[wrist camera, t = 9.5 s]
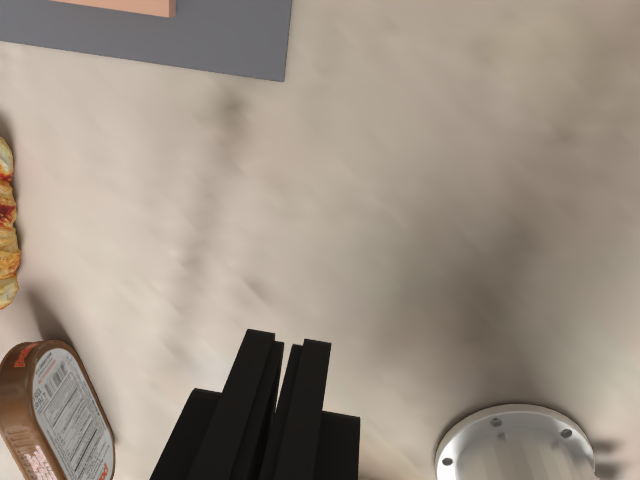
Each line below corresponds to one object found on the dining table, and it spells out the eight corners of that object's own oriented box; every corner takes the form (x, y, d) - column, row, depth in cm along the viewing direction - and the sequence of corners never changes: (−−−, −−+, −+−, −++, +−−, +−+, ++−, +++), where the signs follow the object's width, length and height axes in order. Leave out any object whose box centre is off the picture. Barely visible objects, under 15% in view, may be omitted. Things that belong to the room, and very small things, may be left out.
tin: (33, 321, 46) (-34, 391, 38) (69, 316, 45) (9, 386, 37) (99, 461, 52) (53, 546, 44) (132, 458, 51) (91, 544, 44)
